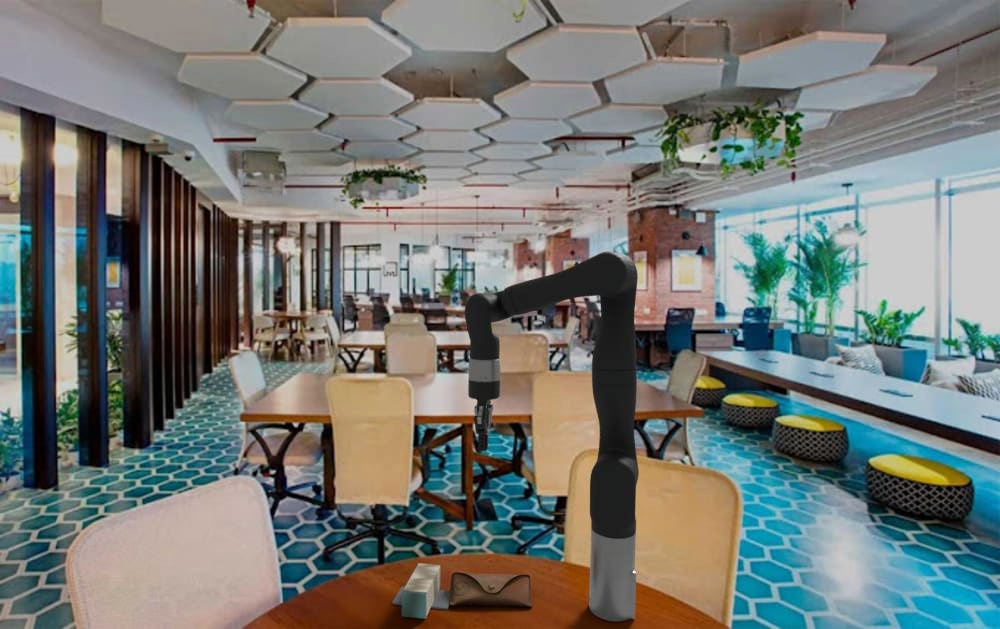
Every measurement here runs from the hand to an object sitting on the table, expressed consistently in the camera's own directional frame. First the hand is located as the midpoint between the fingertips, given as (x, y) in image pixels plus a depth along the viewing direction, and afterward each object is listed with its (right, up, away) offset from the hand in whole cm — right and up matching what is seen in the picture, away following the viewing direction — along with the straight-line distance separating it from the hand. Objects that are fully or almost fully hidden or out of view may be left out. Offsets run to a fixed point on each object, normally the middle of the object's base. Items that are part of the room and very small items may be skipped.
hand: (483, 449), depth 131 cm
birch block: (-12, -26, -8) cm, 30 cm away
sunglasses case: (+2, -30, -11) cm, 32 cm away
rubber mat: (-12, -29, -12) cm, 34 cm away
